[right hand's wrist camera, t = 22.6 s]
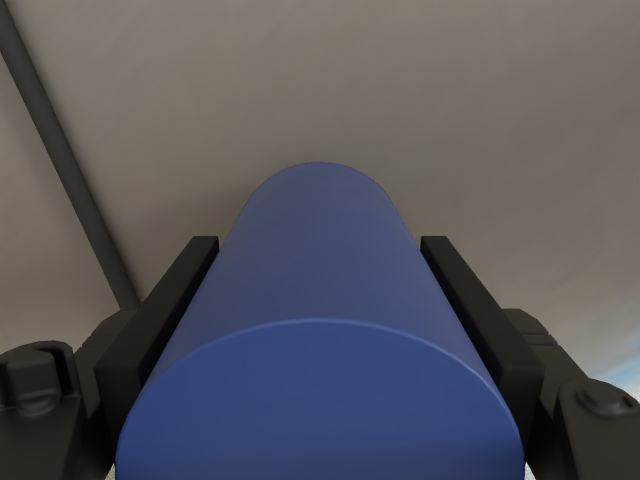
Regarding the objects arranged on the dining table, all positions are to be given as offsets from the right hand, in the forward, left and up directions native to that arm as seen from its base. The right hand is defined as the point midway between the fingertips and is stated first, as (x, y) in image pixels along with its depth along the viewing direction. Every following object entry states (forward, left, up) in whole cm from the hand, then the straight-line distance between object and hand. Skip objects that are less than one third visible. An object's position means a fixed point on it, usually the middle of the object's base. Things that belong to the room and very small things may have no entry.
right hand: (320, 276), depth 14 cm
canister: (0, 0, -3) cm, 3 cm away
